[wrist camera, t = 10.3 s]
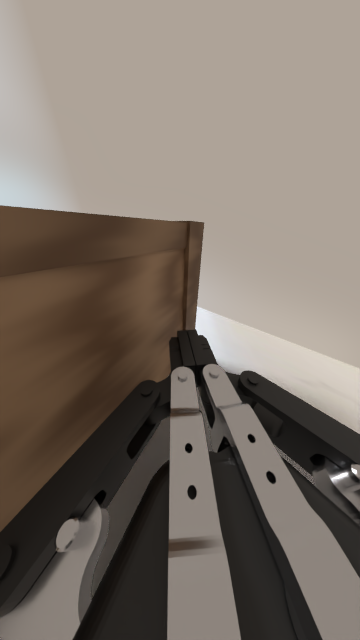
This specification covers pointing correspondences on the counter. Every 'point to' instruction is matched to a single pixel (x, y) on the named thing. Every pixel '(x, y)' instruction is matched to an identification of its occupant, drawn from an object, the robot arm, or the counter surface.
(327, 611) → the robot arm
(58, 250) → the gate leaf
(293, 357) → the counter surface
